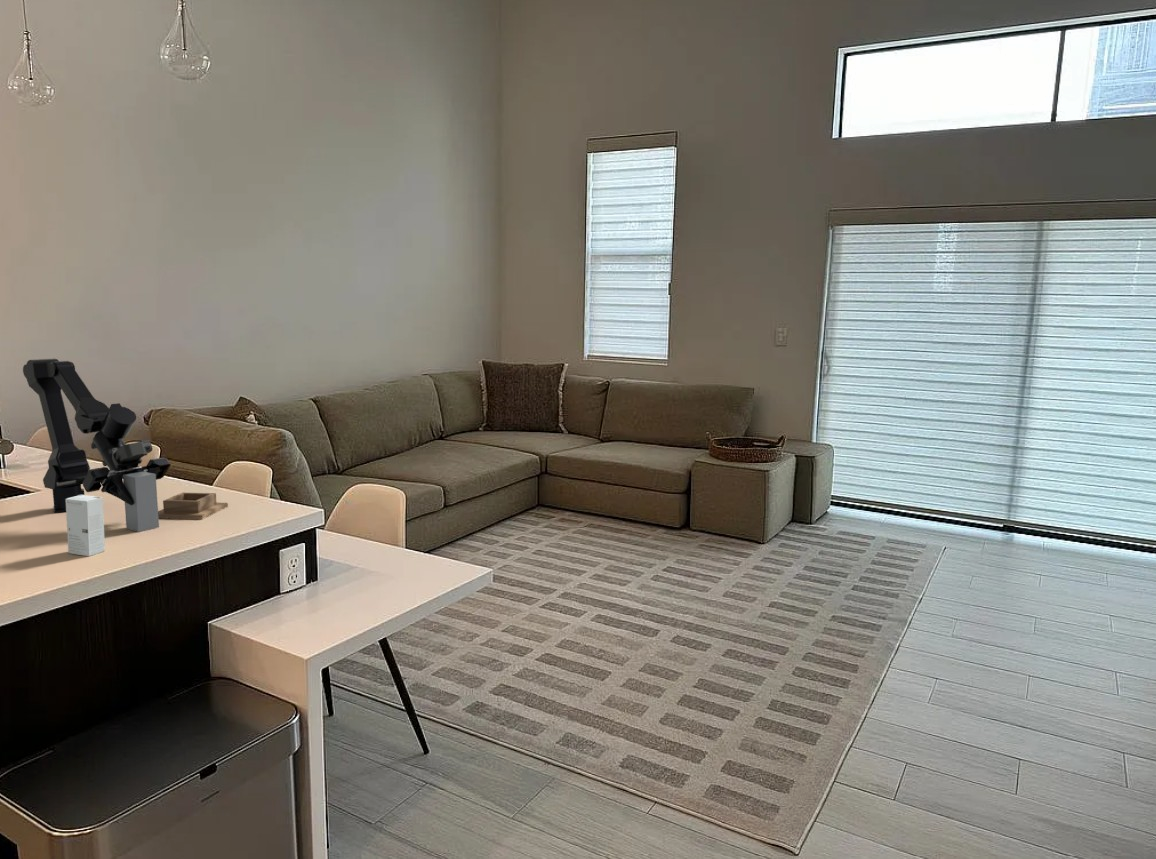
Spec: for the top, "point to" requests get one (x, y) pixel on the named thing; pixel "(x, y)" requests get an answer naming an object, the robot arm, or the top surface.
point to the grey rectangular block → (141, 501)
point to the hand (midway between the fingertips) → (144, 501)
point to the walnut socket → (190, 506)
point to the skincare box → (85, 525)
